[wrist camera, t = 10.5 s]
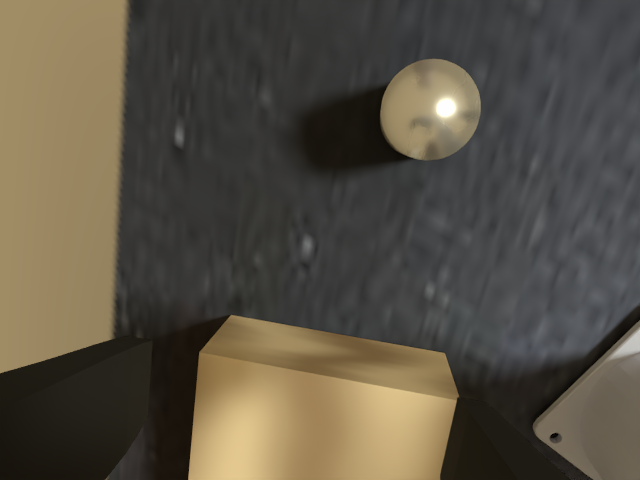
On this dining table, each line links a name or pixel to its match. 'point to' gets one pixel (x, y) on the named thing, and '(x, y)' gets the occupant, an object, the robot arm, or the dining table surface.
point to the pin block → (317, 406)
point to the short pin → (430, 110)
